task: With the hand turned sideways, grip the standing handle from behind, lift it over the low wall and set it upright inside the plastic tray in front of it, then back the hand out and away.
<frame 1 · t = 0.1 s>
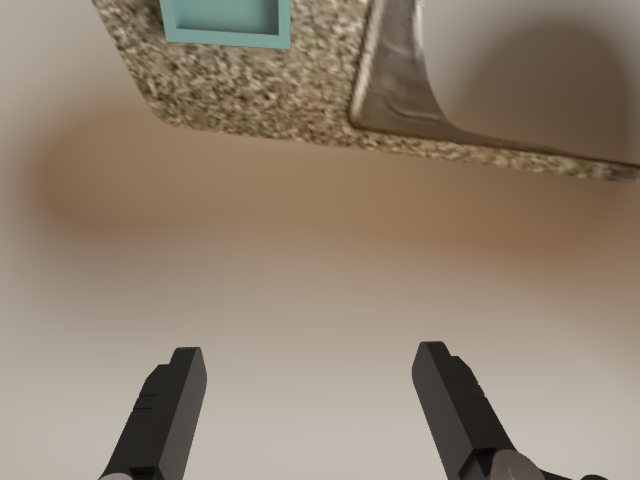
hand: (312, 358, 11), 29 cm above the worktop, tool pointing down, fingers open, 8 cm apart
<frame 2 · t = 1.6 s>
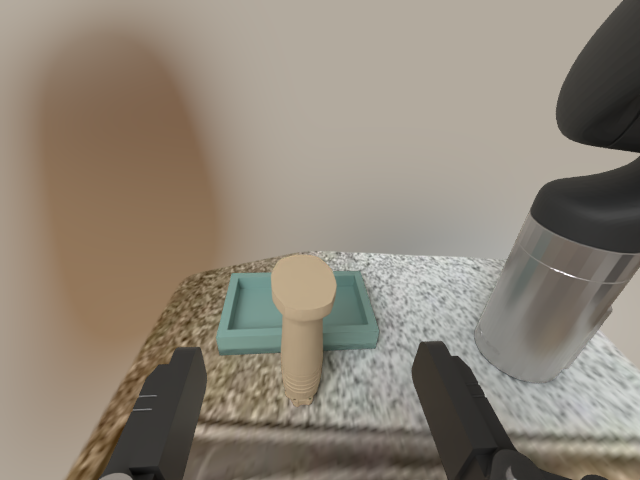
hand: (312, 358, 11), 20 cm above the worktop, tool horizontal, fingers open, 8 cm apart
handle: (301, 394, 31), on the worktop
tray: (298, 316, 40), on the worktop
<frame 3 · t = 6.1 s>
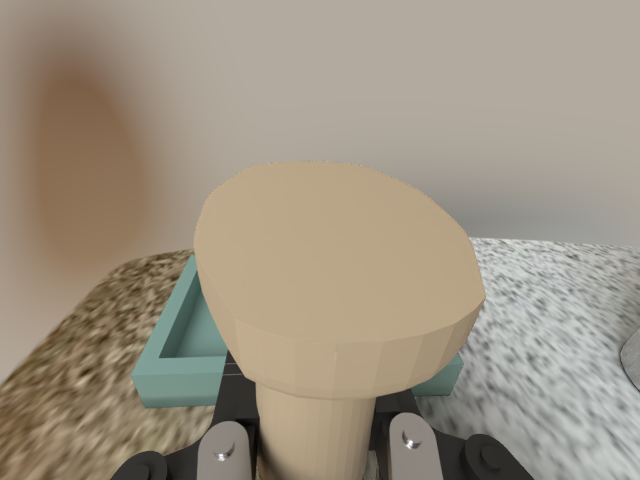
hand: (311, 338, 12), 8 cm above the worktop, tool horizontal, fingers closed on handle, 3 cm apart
tray: (301, 329, 23), on the worktop
when the fingers open (10 cm above the worktop, at t = 11.5 s): handle drops 1 cm, resting on tray.
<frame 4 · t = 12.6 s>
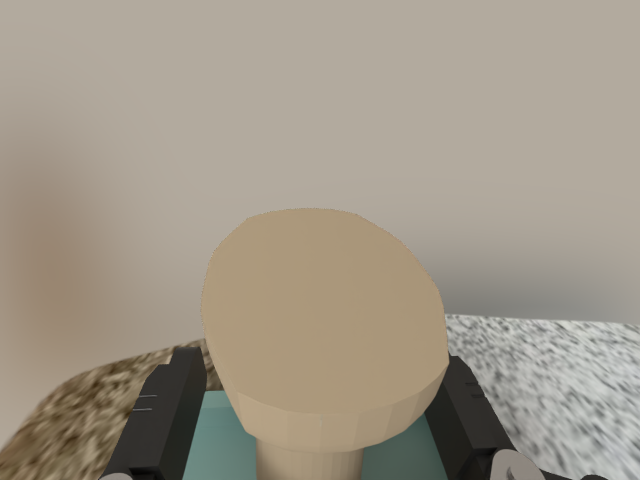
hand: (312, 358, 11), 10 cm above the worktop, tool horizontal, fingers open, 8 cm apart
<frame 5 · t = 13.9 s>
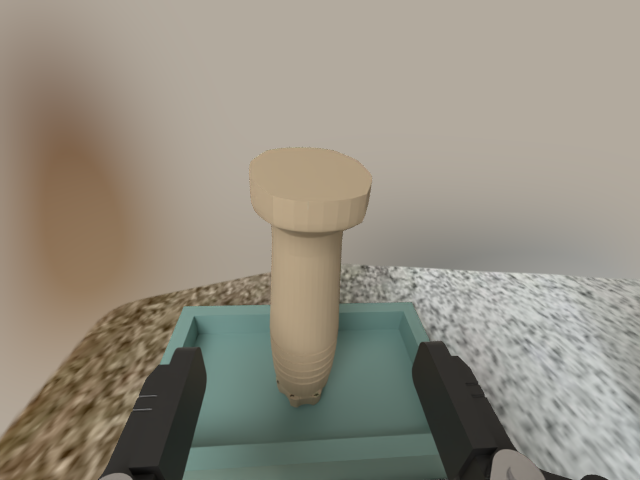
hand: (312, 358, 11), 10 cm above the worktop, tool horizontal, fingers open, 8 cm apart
handle: (302, 388, 21), point 1 cm above the worktop, touching tray
tray: (303, 392, 21), on the worktop
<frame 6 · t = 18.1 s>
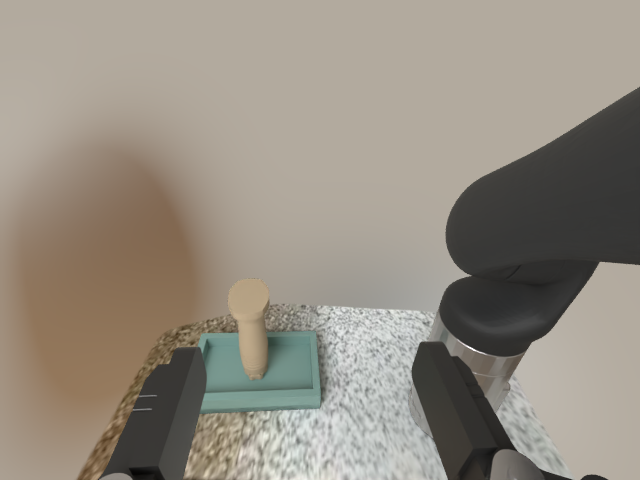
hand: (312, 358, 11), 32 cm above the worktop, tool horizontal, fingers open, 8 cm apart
handle: (256, 372, 45), point 1 cm above the worktop, touching tray
tray: (257, 374, 46), on the worktop
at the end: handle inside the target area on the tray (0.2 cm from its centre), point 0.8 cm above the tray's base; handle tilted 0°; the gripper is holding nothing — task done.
